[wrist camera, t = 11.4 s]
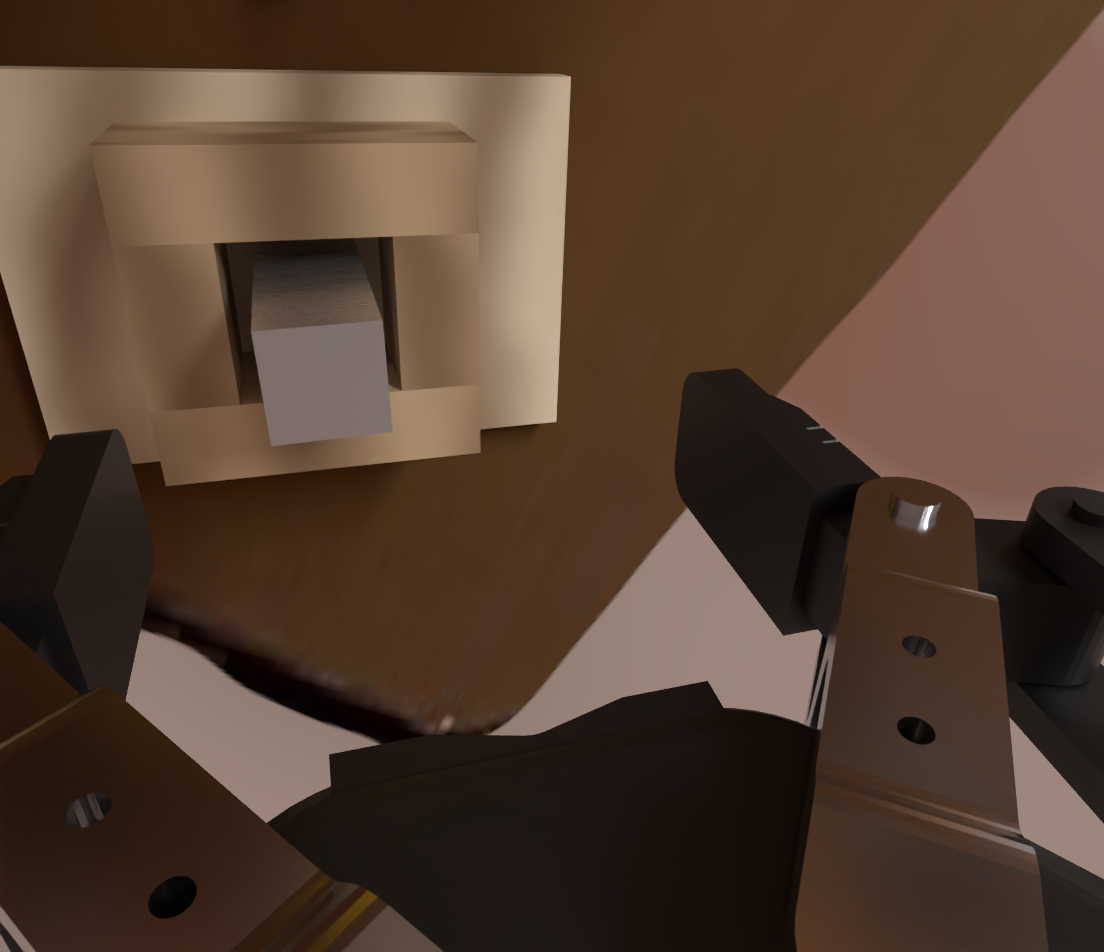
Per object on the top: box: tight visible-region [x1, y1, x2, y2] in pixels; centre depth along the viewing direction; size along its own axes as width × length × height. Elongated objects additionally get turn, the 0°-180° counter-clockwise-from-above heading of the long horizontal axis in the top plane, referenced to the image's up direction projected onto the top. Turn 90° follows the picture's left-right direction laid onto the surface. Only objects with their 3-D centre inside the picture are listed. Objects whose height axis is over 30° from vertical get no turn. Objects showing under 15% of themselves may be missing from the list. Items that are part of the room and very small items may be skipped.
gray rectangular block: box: [251, 238, 393, 446], centre depth 27 cm, size 3×3×10 cm
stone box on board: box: [0, 66, 571, 486], centre depth 30 cm, size 20×14×6 cm
